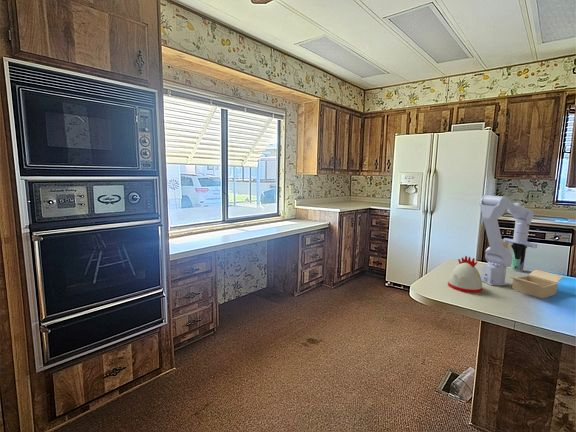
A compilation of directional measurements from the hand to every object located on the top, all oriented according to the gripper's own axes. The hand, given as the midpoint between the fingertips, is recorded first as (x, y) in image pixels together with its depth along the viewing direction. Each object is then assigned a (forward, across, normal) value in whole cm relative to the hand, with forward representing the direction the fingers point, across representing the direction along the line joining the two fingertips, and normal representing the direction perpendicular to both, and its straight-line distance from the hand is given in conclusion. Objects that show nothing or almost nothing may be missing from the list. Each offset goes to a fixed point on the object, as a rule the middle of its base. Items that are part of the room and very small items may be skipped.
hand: (517, 258), depth 160 cm
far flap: (+4, -14, +3) cm, 15 cm away
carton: (+10, -14, +11) cm, 21 cm away
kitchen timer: (+11, +3, +36) cm, 38 cm away
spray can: (+11, +8, -17) cm, 21 cm away
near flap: (+4, -14, +20) cm, 25 cm away
